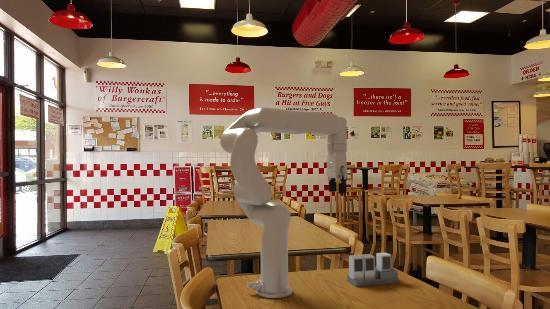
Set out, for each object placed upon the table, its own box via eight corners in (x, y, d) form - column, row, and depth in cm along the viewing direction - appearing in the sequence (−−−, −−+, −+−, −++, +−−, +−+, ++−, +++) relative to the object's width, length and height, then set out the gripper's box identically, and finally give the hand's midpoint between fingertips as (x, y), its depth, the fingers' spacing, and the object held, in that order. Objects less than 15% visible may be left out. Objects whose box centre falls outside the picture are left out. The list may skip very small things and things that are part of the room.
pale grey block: (382, 277, 151) (382, 255, 151) (376, 274, 156) (376, 253, 156) (391, 276, 152) (391, 255, 152) (385, 273, 157) (385, 252, 157)
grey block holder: (356, 286, 147) (355, 259, 147) (346, 280, 155) (346, 254, 155) (398, 283, 151) (398, 256, 151) (387, 277, 159) (387, 251, 159)
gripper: (320, 149, 166) (320, 191, 166) (336, 148, 149) (337, 194, 149) (337, 149, 168) (337, 190, 168) (355, 148, 151) (355, 194, 151)
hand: (337, 192), depth 158 cm, fingers open, 9 cm apart
